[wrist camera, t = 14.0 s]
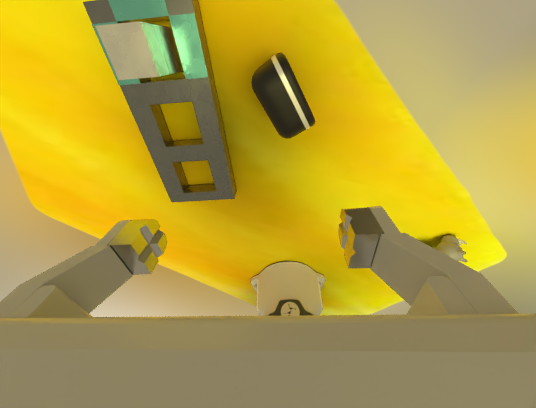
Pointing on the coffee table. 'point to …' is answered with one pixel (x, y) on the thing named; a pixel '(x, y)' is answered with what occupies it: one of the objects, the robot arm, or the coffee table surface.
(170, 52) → the steel block
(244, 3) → the coffee table surface
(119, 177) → the coffee table surface
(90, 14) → the grey slotted board
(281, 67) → the battery charger
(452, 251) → the toy rhinoceros
